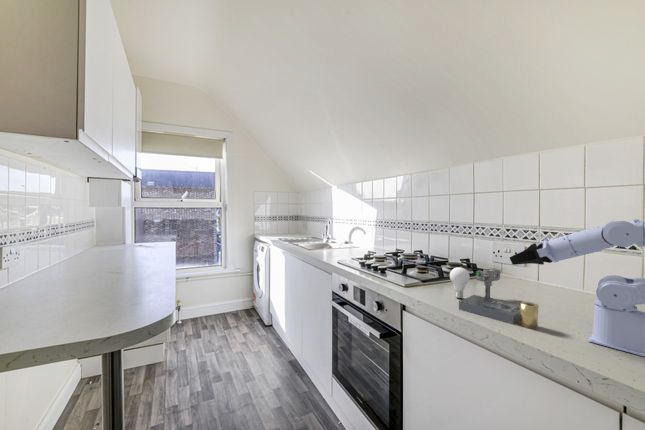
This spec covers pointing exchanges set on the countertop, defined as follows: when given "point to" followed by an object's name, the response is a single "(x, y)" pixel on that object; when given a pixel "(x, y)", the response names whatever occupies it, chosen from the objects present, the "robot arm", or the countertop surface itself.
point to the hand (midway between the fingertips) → (515, 260)
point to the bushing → (528, 315)
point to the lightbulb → (459, 280)
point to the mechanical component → (488, 278)
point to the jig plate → (491, 308)
